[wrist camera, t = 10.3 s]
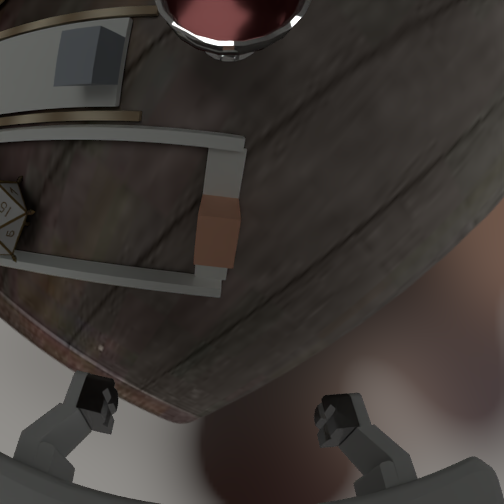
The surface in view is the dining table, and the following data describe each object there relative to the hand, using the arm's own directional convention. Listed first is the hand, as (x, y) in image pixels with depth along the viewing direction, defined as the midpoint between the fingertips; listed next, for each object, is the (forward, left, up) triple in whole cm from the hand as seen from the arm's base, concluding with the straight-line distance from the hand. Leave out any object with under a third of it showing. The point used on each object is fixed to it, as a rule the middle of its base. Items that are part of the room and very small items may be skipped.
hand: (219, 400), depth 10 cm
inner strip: (+22, -12, -18) cm, 31 cm away
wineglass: (+2, -15, -18) cm, 24 cm away
